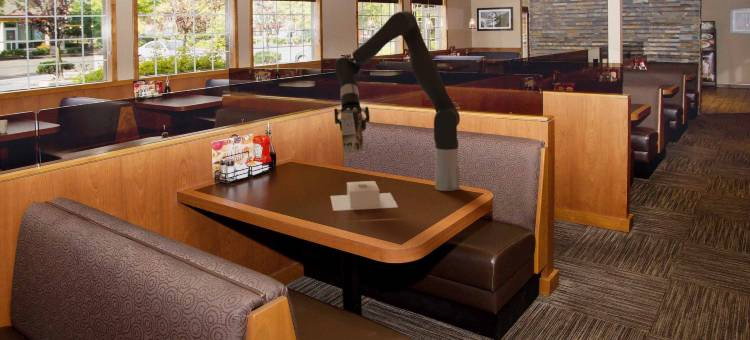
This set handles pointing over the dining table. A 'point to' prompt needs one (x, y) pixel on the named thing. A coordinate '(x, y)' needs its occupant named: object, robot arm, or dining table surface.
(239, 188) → the dining table surface
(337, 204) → the mat
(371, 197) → the beige cube with notch
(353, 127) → the grey tall block
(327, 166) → the dining table surface
